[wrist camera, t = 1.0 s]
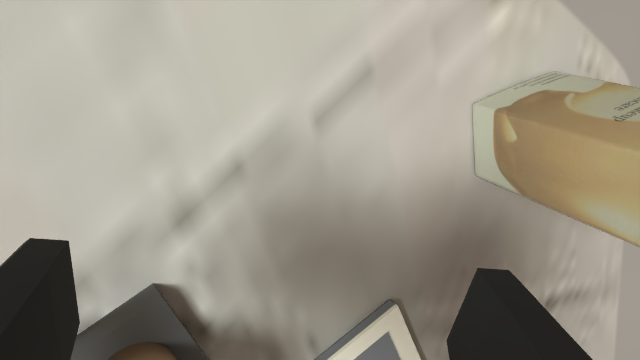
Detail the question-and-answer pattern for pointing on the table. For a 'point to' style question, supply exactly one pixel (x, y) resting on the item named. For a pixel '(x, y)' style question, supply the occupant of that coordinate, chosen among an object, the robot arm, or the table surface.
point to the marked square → (376, 338)
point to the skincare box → (566, 148)
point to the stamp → (138, 333)
